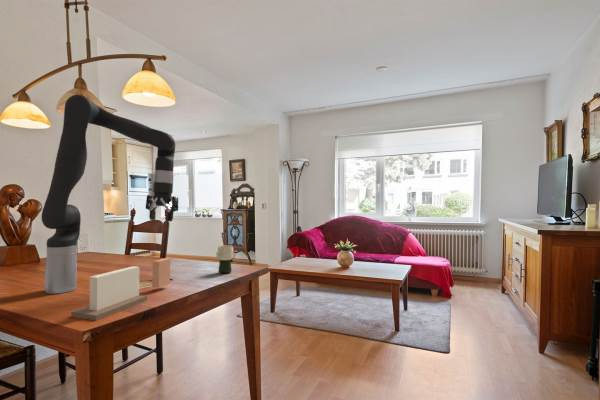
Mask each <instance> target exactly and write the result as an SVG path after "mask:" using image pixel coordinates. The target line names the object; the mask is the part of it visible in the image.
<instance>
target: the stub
mask: <svg viewBox="0 0 600 400" xmlns="http://www.w3.org/2000/svg"><path fill="white" fill-rule="evenodd" d="M170 279H171V258H160V259H156V260H153V261H152V279H151V280H152V286H151V287H152V288H156V289H157V288H161V287H164V286H168V285H170V284H171V283H170V282H171V280H170Z"/></svg>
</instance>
